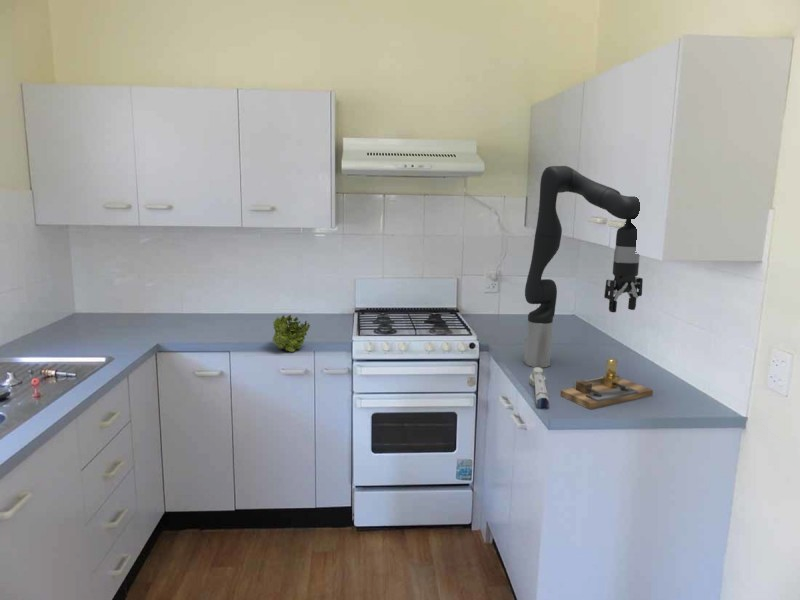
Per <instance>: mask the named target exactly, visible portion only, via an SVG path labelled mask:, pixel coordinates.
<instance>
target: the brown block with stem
mask: <svg viewBox="0 0 800 600" xmlns="http://www.w3.org/2000/svg"><path fill="white" fill-rule="evenodd" d="M575 382H576V390H577V391H579V392H581V393H584V394H586V393H591V392H592V393H595V394H599V392H598V391H596V390H594V389H592V383H589V382H587V381H585V380H584V379H581V380H576V381H575Z"/></svg>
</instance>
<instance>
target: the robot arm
mask: <svg viewBox="0 0 800 600" xmlns="http://www.w3.org/2000/svg"><path fill="white" fill-rule="evenodd" d="M539 185H540V186H539V187H540V188H539V201H538V202H539V203H538V204H539V205H538V212H537V213H538V214H537V221H536V222H537V223H536V227H535V231H534V232H535V233H534V241H533V249H532V254H531V255H532V256H531V261H530V266H529V271H528V275H527V279H526V283H525V289H524V297H525V301H526V302H527V303H528V304H530V305H539V307H537V308H536V309H534V310H532V311H530V312H528V314H527V328H526V329H527V330H526V331H527V333H526V338H524V354H523V363H525V365H526V366H529V367H532V368H536V367H539V368H542V369H543V368H548V367H550V364H551V351H552V338H553V337H552V335H553V322H554V321H553V320H554V317H555V315H556V314H555V312H556V304H557V295H558V289H557V288H558V287H557V284H556V282H555V281H554V280H552V279H550V278H549V279H545V278H544V279H542V277H543V274H544V271H545V269H546V267H547V265H548V264H549V263H550V262H551V260H552V259H553V258H554V257H555V256H556V254H557V252H558V251H559V249H560V246H561V240H562V233H563V228H562V224H561V220H560V218H559V216H558V212H557V198H558V194H559V193H573V194H577V195H579V196H582V197H583V198H584V199H585V200H586V201H587V202H588V203H589V204H591V205H593V206H595V207H596V208H597V207H598V208H600V209H602V210H605V211H607V212H608V214H610V215H612V216H613V217H615V218H617V219H619V220H620V219H621V220H625V222H624V224H623V226H621V227H618V229H617V231H616V238H615V247H614V252H613V253H614V254H613V262H612V275H614V278H613V279H606V281H605V287H604V298H603V299H607V300H609V303H608V311H609V312H610V313H617V306H618V301H617V300H618V299H619V297H620V296H621V295H622V294H624V293H627V295H628V297H629V298H628V305H627V308H628V310H631V311H635V310H636V306H637V299H638V298H639V297H642V296H643V282H644V281H643V280H644V278H642V277H638V275H639V266H640V255H641V254H640V255H639V254H635V253H637V252H635V251H636V240H637V229H636V227H635V226H634V225H633V224H632V223H631V219H635V218H636V217H637V216H638V214H639V211H640V202H639V199H638V198H637V197H635V196H636V195H635V196H627V195H623V194H621V192H620V191H619V190H617V189H615V188H612V187H610V186H607V185H605V184H602V183H599V182H596V181H594V180H592V179H590V178H589V177H586V176H584V175H583V174H581V173H580V172H579V171H577V170H575V169H574V168H572V167H569V166H567V165H550V166H547V167H546V168H545V169H544V170H543V171H542V173H541V178H540V182H539ZM625 223H626V224H625Z"/></svg>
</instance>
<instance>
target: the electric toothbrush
mask: <svg viewBox="0 0 800 600" xmlns="http://www.w3.org/2000/svg"><path fill="white" fill-rule="evenodd" d="M529 381H530V382H529V383H530V385H531V386H532V387H534V392H535V395H534V401H535V403H536V406H537V408H538V409H544V408H546V409H548V408H549V407H550V395H549V394H548V391H547V388H546V387H547V386H546V376H545V375H544V370H543V367H542V368H540V367H533V369H532V373H531V374H530V375H529Z"/></svg>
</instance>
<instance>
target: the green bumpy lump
mask: <svg viewBox="0 0 800 600" xmlns="http://www.w3.org/2000/svg"><path fill="white" fill-rule="evenodd" d="M285 316H286V315H285V314H284V315H282V316H281V317H280V316H278V317H276V319H275V320H274V321H273V329H274V334H273V336H272V342H273V344H274V345H275V346H276V347H277V348H279V349H280V350H283V349H284V350H285V351H288V352H289V353H294V352H295V351H296V350H298V349H300V348H302V345H303V344H304V342H305V339H306V338H305V336H307V335H308V333H307V332H308V331H309V329H310V327H311V325H310V324H309V323H308V322H307V320H305V321H304V323H302V322H301V320H299V319H298V317H297V316H296V317H295V318H293V317H292V315H291V314H289V315H287V316H286V317H285ZM299 324H300V325H299Z"/></svg>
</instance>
